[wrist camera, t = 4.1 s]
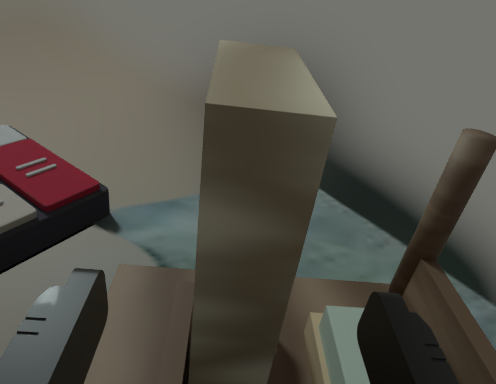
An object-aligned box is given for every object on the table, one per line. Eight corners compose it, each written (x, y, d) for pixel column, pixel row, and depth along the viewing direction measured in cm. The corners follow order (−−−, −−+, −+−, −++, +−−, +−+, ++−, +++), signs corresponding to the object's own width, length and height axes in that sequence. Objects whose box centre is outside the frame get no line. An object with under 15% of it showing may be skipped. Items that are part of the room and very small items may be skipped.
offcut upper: (351, 481, 14) (364, 460, 13) (318, 327, 20) (326, 305, 19) (458, 484, 14) (479, 464, 14) (395, 332, 20) (406, 310, 19)
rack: (-56, 755, 10) (-570, 724, 3) (120, 279, 25) (103, 87, 18) (608, 733, 12) (1280, 681, 5) (401, 299, 27) (487, 130, 20)
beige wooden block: (182, 481, 15) (205, 102, 6) (196, 349, 20) (220, 39, 12) (240, 482, 15) (337, 117, 7) (240, 351, 20) (295, 49, 12)
